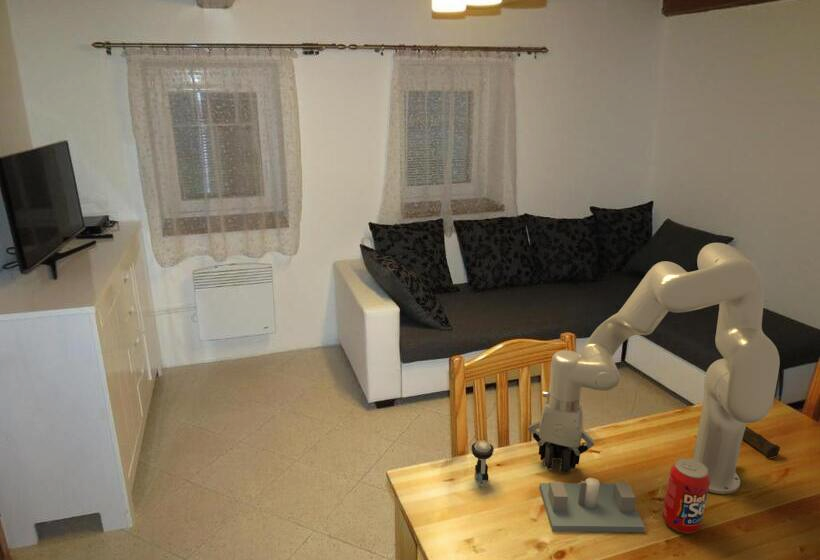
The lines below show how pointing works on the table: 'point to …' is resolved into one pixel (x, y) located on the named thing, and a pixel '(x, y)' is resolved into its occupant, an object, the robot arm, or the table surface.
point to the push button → (482, 460)
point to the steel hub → (558, 456)
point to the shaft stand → (591, 507)
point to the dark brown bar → (760, 443)
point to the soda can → (686, 495)
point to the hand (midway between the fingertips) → (558, 460)
